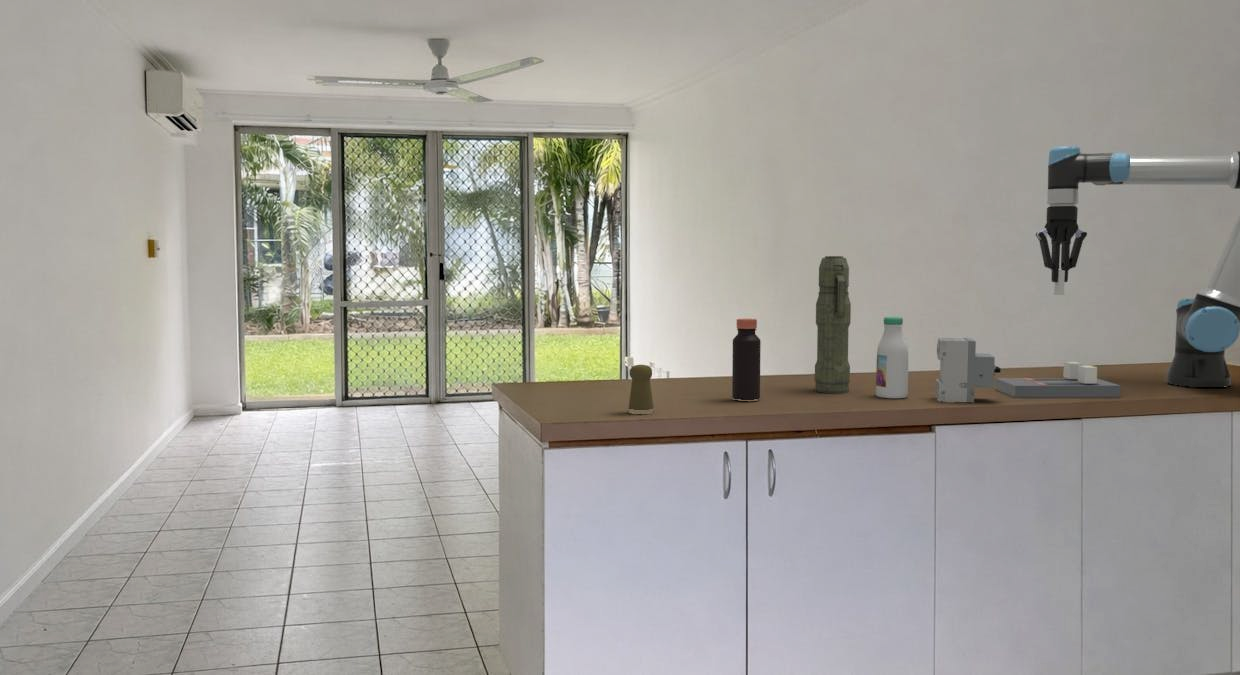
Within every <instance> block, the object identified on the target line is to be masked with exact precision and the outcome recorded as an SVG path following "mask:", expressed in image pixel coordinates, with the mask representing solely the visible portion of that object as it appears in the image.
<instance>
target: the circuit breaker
mask: <svg viewBox="0 0 1240 675" xmlns="http://www.w3.org/2000/svg"><path fill="white" fill-rule="evenodd" d="M976 344H977V342H976V340H975V339H973V338H972V337H937V344H936V355H937V359H938V360H940V364H939V367H940V368H939V377H938V378H936V379H935V399H936V398H937V399H936V400H937V402H938V401H939V402H938V403H955V402H972V403H971V404H974V403H975V389H994V388H995V373H1000V374H1001V367H999V366H997V365H995V364H996V361H995V358H996V357H995V356H994V355H992V354H991V353H982V352H981V353H978V352H976V348H977V346H976ZM941 401H942V402H941Z"/></svg>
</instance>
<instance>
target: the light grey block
mask: <svg viewBox="0 0 1240 675" xmlns="http://www.w3.org/2000/svg"><path fill="white" fill-rule="evenodd" d="M1078 366H1083V363H1082V362H1078V361H1063V374H1062V375H1063V377H1062V378H1068V379H1078Z"/></svg>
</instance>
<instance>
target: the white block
mask: <svg viewBox="0 0 1240 675" xmlns="http://www.w3.org/2000/svg"><path fill="white" fill-rule="evenodd" d="M1097 379H1098V367H1097V366H1094V365H1082V366H1078V382H1081V383H1097Z"/></svg>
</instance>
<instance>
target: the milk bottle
mask: <svg viewBox="0 0 1240 675" xmlns="http://www.w3.org/2000/svg"><path fill="white" fill-rule="evenodd" d="M903 322H904V319H903V317H901V316H884V317H883V327H884V330H883V334H882V336H881V338H880V341H879V343H878V346H877V351H876V374H875V376H876V377H875V378H876V379H875V380H876V381H875V395H876V397H877V398H882V399H883V398H884V399H905V398H907V397H908V395H909V394H908V393H909V387H908V386H909V347H908V345H907V342H906V339H905V337H904V334H903V330H902V328H903V326H904V325H903Z"/></svg>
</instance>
